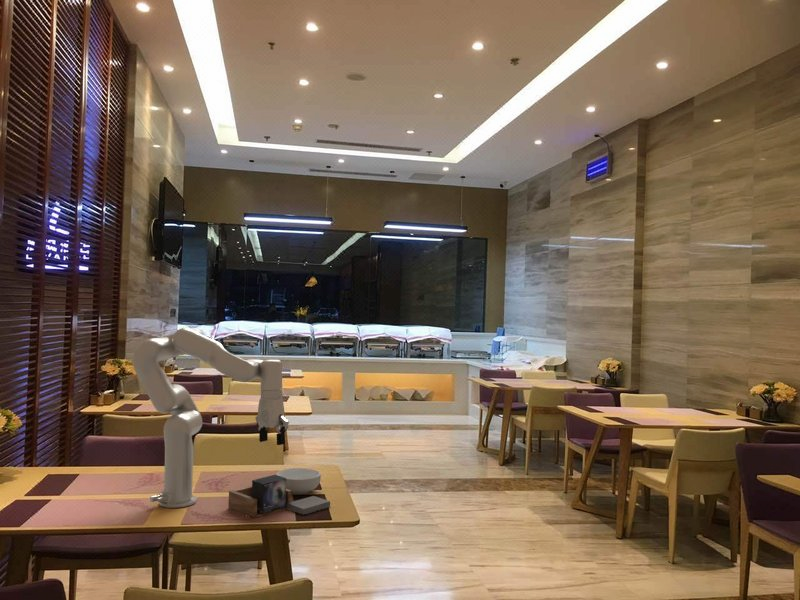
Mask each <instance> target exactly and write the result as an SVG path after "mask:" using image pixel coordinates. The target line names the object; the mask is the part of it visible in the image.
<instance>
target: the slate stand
mask: <svg viewBox="0 0 800 600" xmlns="http://www.w3.org/2000/svg"><path fill="white" fill-rule="evenodd" d="M328 508H331V500H327V499H324V498H321V497H318V496H315V495H312V496H309V497H305V498H301V499H297V500H294V501H293V500H292V502H289V503H287V509H286V510H289V509H290V510H289V511H291V510H292V511H291V512H294V511H295V512H294V513H297V514H300V515H302V514H303V516H304V514H305V515H307V514H311V513H315V512H318V511H321V509H322V510H325V509H328ZM317 510H318V511H317Z"/></svg>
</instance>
